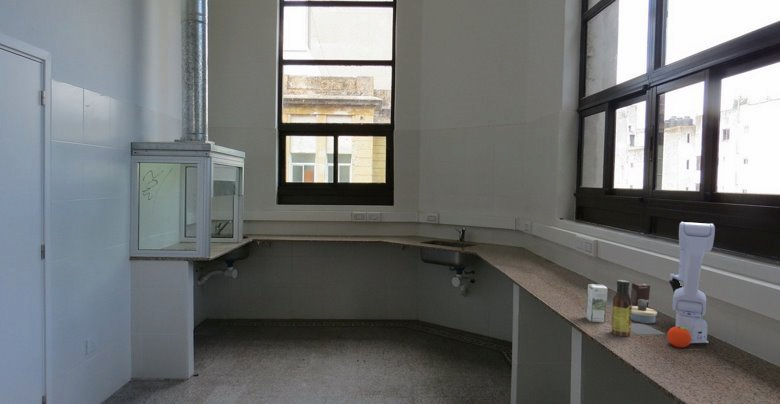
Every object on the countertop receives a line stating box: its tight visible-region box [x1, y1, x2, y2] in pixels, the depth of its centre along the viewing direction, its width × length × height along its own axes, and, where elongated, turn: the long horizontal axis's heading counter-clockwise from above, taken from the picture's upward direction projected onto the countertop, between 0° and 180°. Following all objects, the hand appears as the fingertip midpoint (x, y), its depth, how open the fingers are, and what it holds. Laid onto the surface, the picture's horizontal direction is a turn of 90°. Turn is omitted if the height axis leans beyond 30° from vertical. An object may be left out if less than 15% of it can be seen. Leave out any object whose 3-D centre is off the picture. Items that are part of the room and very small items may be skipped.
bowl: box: [631, 313, 657, 324], centre depth 181 cm, size 9×9×4 cm
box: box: [630, 282, 651, 308], centre depth 196 cm, size 6×4×12 cm
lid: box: [632, 299, 658, 317], centre depth 181 cm, size 11×11×5 cm
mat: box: [630, 323, 666, 336], centre depth 169 cm, size 12×12×1 cm
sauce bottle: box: [611, 279, 632, 338], centre depth 162 cm, size 6×6×20 cm
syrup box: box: [585, 283, 609, 323], centre depth 178 cm, size 6×6×14 cm
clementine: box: [666, 326, 695, 348], centre depth 151 cm, size 8×7×7 cm
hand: (685, 301), depth 174 cm, fingers open, 7 cm apart
